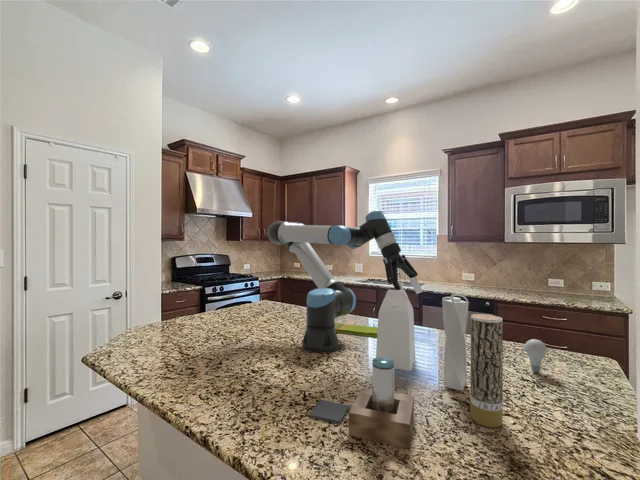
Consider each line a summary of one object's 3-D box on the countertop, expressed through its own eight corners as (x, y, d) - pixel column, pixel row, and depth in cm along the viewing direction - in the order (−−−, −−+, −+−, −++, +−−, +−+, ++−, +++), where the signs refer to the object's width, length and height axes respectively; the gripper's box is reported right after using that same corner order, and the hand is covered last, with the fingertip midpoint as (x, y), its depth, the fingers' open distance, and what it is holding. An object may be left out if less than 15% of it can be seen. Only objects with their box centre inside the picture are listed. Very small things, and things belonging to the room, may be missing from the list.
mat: (308, 417, 76) (308, 414, 76) (320, 401, 84) (320, 399, 84) (340, 423, 74) (340, 421, 74) (349, 407, 81) (349, 405, 81)
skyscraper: (466, 394, 89) (466, 295, 90) (439, 387, 93) (439, 293, 93) (470, 383, 96) (470, 292, 96) (444, 378, 100) (444, 290, 100)
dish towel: (326, 324, 168) (327, 318, 169) (394, 332, 155) (394, 325, 155) (315, 331, 154) (315, 324, 154) (388, 340, 140) (388, 333, 140)
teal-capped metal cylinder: (370, 429, 72) (370, 363, 72) (374, 417, 76) (374, 356, 77) (392, 433, 70) (392, 366, 70) (395, 422, 75) (395, 358, 75)
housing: (348, 435, 69) (348, 412, 69) (361, 406, 82) (361, 387, 82) (409, 448, 65) (409, 424, 65) (413, 416, 77) (413, 396, 77)
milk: (415, 359, 116) (415, 289, 116) (410, 370, 105) (410, 293, 106) (383, 354, 121) (383, 287, 121) (375, 364, 110) (376, 291, 111)
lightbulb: (543, 370, 107) (543, 337, 107) (549, 377, 101) (549, 343, 101) (522, 367, 109) (522, 336, 109) (527, 374, 103) (527, 341, 103)
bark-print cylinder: (465, 413, 79) (465, 314, 79) (490, 413, 79) (490, 313, 79) (481, 429, 72) (481, 320, 72) (509, 428, 72) (509, 320, 73)
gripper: (379, 243, 114) (404, 297, 108) (410, 240, 133) (433, 287, 127) (364, 252, 119) (387, 304, 113) (396, 248, 137) (418, 294, 131)
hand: (412, 295), depth 120 cm, fingers open, 13 cm apart
